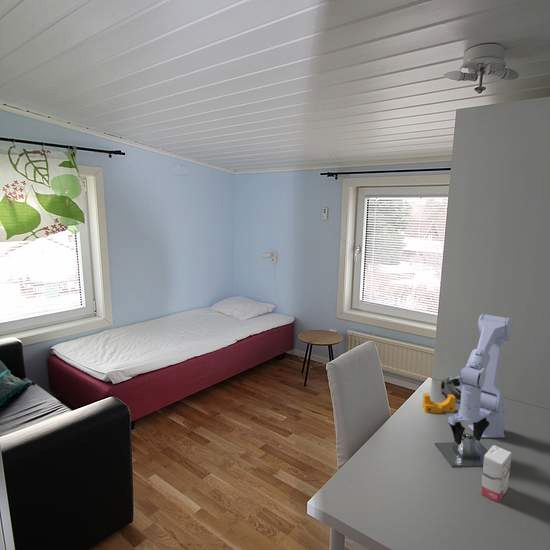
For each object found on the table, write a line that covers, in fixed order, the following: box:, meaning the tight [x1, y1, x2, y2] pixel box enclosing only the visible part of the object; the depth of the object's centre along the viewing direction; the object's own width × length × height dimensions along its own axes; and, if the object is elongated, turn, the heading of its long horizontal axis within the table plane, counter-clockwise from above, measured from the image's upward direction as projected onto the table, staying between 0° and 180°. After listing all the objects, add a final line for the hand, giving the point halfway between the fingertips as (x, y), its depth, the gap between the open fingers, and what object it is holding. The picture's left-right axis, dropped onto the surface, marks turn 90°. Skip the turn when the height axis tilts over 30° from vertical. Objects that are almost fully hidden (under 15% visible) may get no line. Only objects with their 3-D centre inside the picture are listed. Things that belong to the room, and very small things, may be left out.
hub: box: [458, 431, 477, 455], centre depth 124 cm, size 5×5×5 cm
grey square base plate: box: [434, 438, 489, 468], centre depth 124 cm, size 16×12×6 cm
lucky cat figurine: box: [440, 375, 461, 404], centre depth 162 cm, size 15×12×14 cm
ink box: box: [480, 444, 512, 503], centre depth 107 cm, size 9×5×12 cm, turn 132°
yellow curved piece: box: [422, 393, 456, 414], centre depth 153 cm, size 12×4×6 cm, turn 84°
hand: (467, 441), depth 124 cm, fingers open, 7 cm apart
